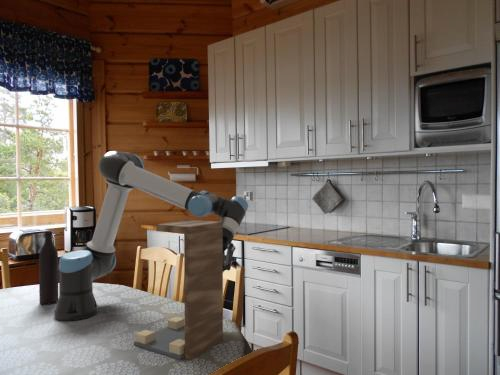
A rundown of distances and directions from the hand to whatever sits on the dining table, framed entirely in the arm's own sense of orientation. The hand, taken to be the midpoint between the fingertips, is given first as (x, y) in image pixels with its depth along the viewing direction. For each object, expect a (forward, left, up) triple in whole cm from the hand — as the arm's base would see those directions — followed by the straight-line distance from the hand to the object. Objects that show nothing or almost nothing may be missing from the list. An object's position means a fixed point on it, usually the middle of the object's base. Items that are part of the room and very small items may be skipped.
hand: (198, 283), depth 135 cm
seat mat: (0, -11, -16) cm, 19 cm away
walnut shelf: (+5, -11, -16) cm, 20 cm away
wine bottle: (-73, -9, -16) cm, 75 cm away
